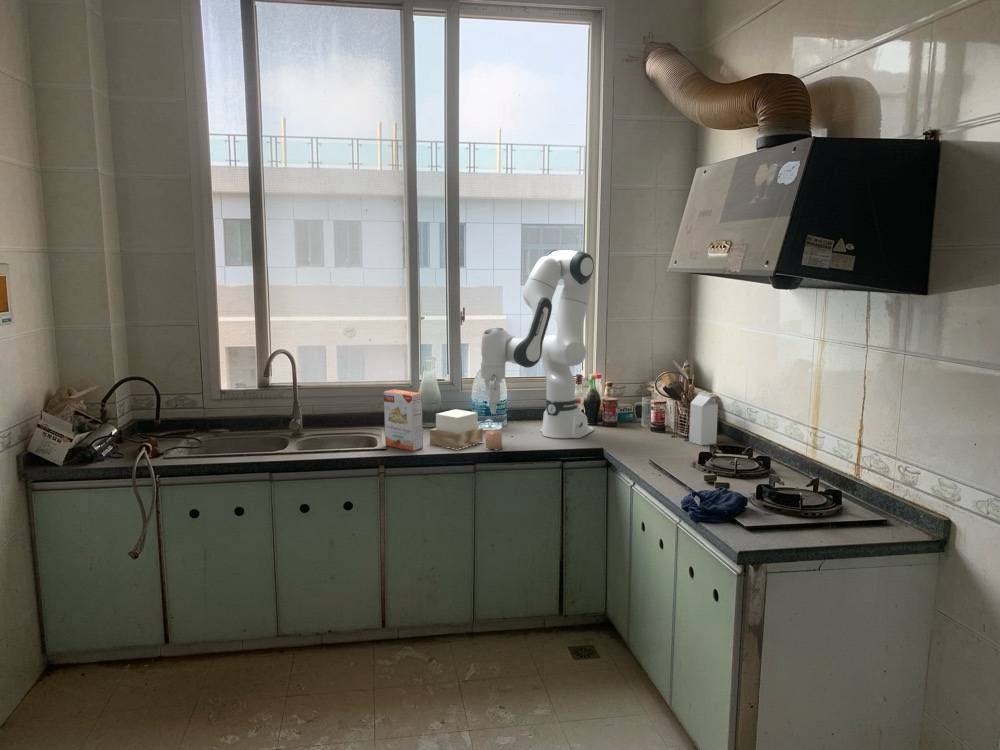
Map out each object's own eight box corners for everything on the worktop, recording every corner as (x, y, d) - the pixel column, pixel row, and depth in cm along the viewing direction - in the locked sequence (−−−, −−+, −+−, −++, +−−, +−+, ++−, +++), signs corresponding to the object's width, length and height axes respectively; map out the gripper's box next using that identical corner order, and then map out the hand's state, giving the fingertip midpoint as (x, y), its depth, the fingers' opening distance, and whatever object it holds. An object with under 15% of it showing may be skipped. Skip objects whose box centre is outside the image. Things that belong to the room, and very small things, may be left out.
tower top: (455, 424, 285) (455, 409, 284) (477, 428, 278) (477, 412, 277) (436, 429, 277) (435, 413, 276) (457, 433, 270) (457, 417, 269)
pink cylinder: (493, 445, 276) (492, 429, 275) (505, 447, 272) (505, 431, 271) (482, 448, 272) (482, 432, 271) (494, 451, 268) (494, 434, 267)
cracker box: (384, 446, 275) (382, 391, 272) (395, 443, 280) (394, 388, 276) (412, 452, 267) (411, 395, 263) (423, 448, 272) (422, 392, 268)
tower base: (455, 438, 288) (455, 423, 287) (482, 443, 279) (482, 428, 278) (430, 445, 278) (429, 429, 277) (457, 451, 269) (456, 435, 268)
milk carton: (700, 446, 273) (702, 395, 270) (688, 441, 280) (690, 392, 277) (716, 444, 276) (718, 394, 273) (704, 439, 282) (706, 390, 279)
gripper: (504, 377, 257) (503, 416, 259) (499, 369, 277) (498, 405, 280) (486, 377, 257) (485, 416, 259) (482, 369, 277) (482, 405, 279)
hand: (492, 410), depth 269 cm, fingers open, 8 cm apart
